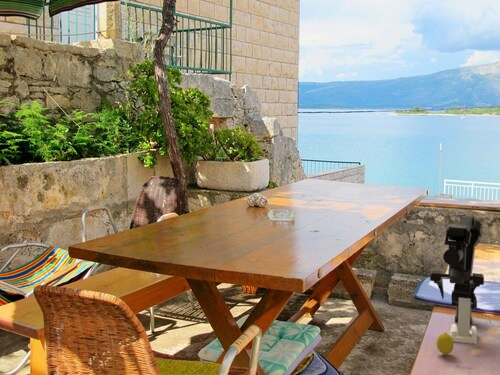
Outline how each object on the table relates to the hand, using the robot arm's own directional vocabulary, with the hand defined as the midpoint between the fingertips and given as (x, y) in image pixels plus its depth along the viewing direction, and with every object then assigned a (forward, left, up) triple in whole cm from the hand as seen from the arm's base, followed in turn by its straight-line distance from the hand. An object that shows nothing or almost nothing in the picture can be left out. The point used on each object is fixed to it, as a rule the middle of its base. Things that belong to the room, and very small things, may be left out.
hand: (456, 299), depth 223 cm
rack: (+4, +3, -13) cm, 14 cm away
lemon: (+22, -3, -13) cm, 26 cm away
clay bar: (+4, +3, -12) cm, 13 cm away
